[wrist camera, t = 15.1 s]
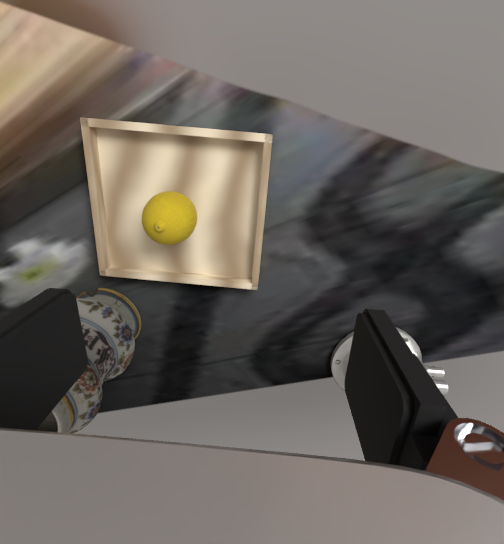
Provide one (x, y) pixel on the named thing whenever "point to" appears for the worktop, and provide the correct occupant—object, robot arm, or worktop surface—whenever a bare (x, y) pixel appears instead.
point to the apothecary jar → (97, 357)
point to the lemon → (169, 218)
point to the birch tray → (188, 181)
